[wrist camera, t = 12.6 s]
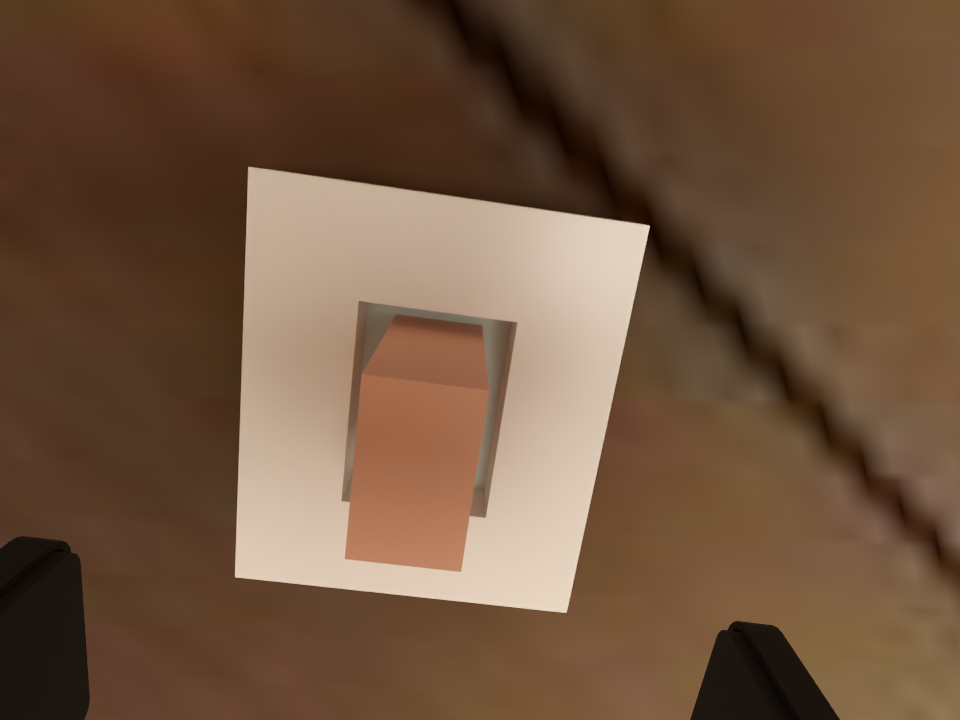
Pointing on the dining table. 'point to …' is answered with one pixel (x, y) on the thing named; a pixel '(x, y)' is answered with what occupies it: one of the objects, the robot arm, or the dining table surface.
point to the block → (418, 444)
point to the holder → (359, 330)
